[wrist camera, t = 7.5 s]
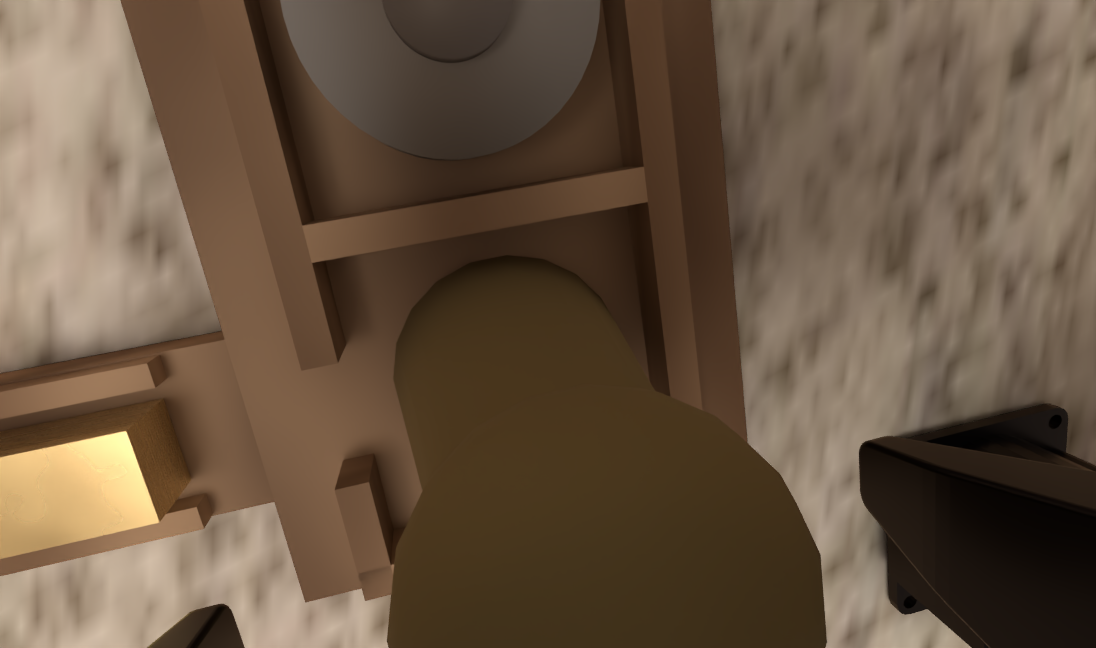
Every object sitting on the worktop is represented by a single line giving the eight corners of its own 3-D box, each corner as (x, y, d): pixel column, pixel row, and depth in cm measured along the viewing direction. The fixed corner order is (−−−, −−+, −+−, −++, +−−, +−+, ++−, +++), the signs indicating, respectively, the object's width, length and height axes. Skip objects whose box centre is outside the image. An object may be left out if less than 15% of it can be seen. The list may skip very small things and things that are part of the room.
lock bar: (163, 398, 15) (126, 431, 13) (191, 479, 16) (159, 522, 14) (-117, 454, 14) (-198, 498, 13) (-77, 539, 15) (-150, 593, 13)
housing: (668, -240, 15) (761, -397, 11) (732, 471, 20) (813, 550, 16) (-425, -153, 12) (-876, -324, 8) (-30, 660, 17) (-178, 820, 13)
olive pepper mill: (353, 306, 16) (201, 589, 5) (581, 220, 16) (869, 317, 6) (445, 508, 17) (471, 1033, 7) (648, 425, 18) (965, 793, 7)
